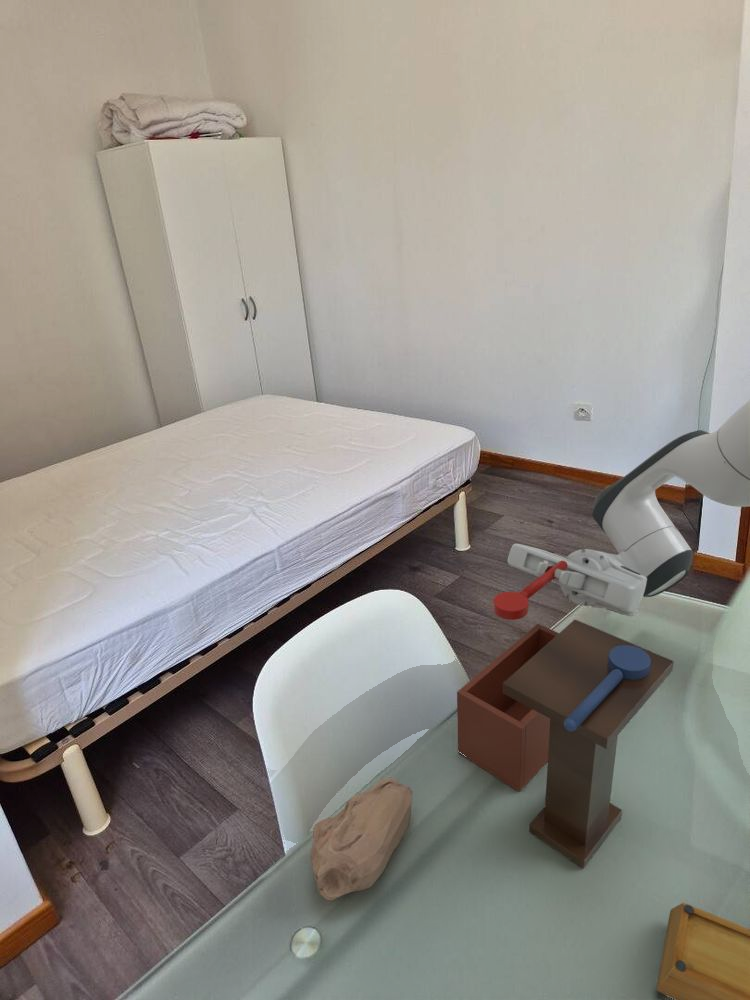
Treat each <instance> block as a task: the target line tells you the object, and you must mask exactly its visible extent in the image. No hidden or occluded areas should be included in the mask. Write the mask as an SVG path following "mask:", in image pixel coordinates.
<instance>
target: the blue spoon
mask: <svg viewBox="0 0 750 1000" xmlns="http://www.w3.org/2000/svg"><path fill="white" fill-rule="evenodd" d="M650 664H651V659H650V657H649V655H648V654H647V653H646V652H645V651H643V650H642V649H640V648H638V647H634V646H630V645H621V646H616V647H614V648H613V649H611V651H610V652H609V658H608V667H609V669H610V670H611V672H610V673H609V674H608V675H607V676H606V678H605V679H604V680H603V681H602V682H601V683H600V684H599V685H598V686H597V687H596V688H595V689H594V690H593V691H592V692H591V693H590V694H589V695H588V696H587V697H586V698H585V700H584V701H583V702H582V703H581V704H580V705H579V706H578V707H577V708H576V709H575V710H574V711H573V712H572V713H571V714H570V715H569V716H568V717H567V718H566V719H565V721H564V727H565V729H566V730H568V731H575V730H576V729H577V728H578V727H579V726H580V725H581V723H582V722H583V721H584V720H585V719H586V718H587V717H588V716H589V715H590V714H591V713H592V712H593V710H594V709H595V708H596V707H597V706H598V705H599V704H600V703H601V702H602V701H603V700H604V699H605V697H606V696H607V695H608V694H609V693H610V692H611V691H612V690H613V689H614V688H615V687H616V686H617V684H618V683H619V682H620V681H621V680H622V679H623V678H624V679H628V680H638V679H642V678H644V677H646V676H647V675H648V674H649V671H650Z"/></svg>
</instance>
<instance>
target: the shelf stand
mask: <svg viewBox="0 0 750 1000" xmlns="http://www.w3.org/2000/svg"><path fill="white" fill-rule="evenodd" d="M558 633H559V634H558V635H557V636H556V637H554V638H553V639H552V640H551V641H550V642H549V643H548V644H547V645H546V646H544V647H543V648H542V649H541V650H540V651H539V652H538V653H537V654H535V655H534V656H533V657H532V658H531V659H530V660H529V661H528V662H526V663H525V664H524V665H523V666H522V667H521V668H520V669H519V670H517V671H516V672H515V673H514V674H513V675H512V676H511V677H510V678H508V679H507V680H506V681H505V682H504V683H503V693H504V694H505V695H507V696H509V697H511V698H513V699H515V700H516V701H518V702H520V703H522V704H524V705H526V706H528V707H529V708H531V709H533V710H535V711H537V712H539V713H540V714H542V715H544V716H546V717H548V718H550V732H549V748H548V762H547V764H546V765H547V766H546V767H547V768H546V784H545V800H544V801H545V802H544V807H543V808H542V809H541V810H540V811H539V813H538V814H537V815H536V816H535V817H534V818H533V820H532V821H531V822H530V823H529V827H528V832H529V834H531V835H533V836H534V837H536V838H538V839H539V840H540V841H542V842H543V843H544V844H546V845H548V846H549V847H551V848H552V849H554V850H555V851H556V852H558V853H559V854H560V855H562V856H563V857H565V858H566V859H568V860H570V861H571V862H572V863H573V864H575V865H577V866H578V867H579V868H581V869H582V870H583V869H585V868H586V867H587V865H588V864H589V862H590V861H591V859H593V857H594V856H595V854H596V853H597V852H598V850H599V849H600V848H601V846H602V845H603V843H605V841H606V840H607V838H608V837H609V835H610V834H612V831H613V830H614V829H615V828H616V826H617V825H618V823H619V822H620V821H621V820H622V818H623V809H621V808H620V807H618V806H616V805H614V804H613V803H611V798H612V797H611V795H612V789H613V778H614V770H615V764H616V763H615V762H616V754H617V745H618V737H619V735H620V733H621V732H622V731H623V730H624V729H625V728H626V727H627V725H628V724H629V723H630V722H631V721H632V720H633V718H634V717H635V716H636V715H637V714H638V713H639V711H640V710H641V708H643V707H644V706H645V704H646V703H647V702H648V700H650V698H651V697H652V696H653V695H654V693H655V692H656V691H657V690H658V689H659V687H660V686H661V685H662V684H663V683H664V682H665V681H666V679H667V678H668V677H669V676H670V674H671V673H673V670H674V663H675V661H674V660H673V659H670V658H667V657H666V656H662V655H661V654H658V653H656V652H653V651H651V650H649V649H646V648H644V647H641V646H639V645H637V644H634V643H633V642H630V641H627V640H626V639H625V640H624V639H622V638H620V637H618V636H615V635H613V634H611V633H608V632H606V631H603V630H601V629H599V628H596V627H594V626H592V625H589V624H587V623H584V622H582V621H580V620H577V619H573V620H572V621H571V622H570V623H569V624H568V625H566V626H565V628H563V629H562V630H561V631H560V632H558ZM621 645H630V646H634V647H638V648H640V649H642V650H643V651H645V652H646V653H647V654H648V655H649V657H650V659H651V664H650V671H649V674H648V675H647V676H646V677H644V678H642V679H638V680H628V679H624V678H623V679H622V680H621V681H620V682H619V683H618V684H617V686H616V687H615V688H614V689H613V690H612V691H611V692H610V693H609V694H608V695H607V696H606V697H605V699H604V700H603V701H602V702H601V703H600V704H599V705H598V706H597V707H596V708H595V709H594V710H593V712H592V713H591V714H590V715H589V716H588V717H587V718H586V719H585V720H584V721H583V722H582V723H581V725H580V726H579V727H578V728H577V729H576V730H575V731H568V730H566V729H565V727H564V721H565V719H566V718H567V717H568V716H569V715H570V714H571V713H572V712H573V711H574V710H575V709H576V708H577V707H578V706H579V705H580V704H581V703H582V702H583V701H584V700H585V698H586V697H587V696H588V695H589V694H590V693H591V692H592V691H593V690H594V689H595V688H596V687H597V686H598V685H599V684H600V683H601V682H602V681H603V680H604V679H605V678H606V676H607V675H608V674H609V673H610V672H611V670H610V669H609V667H608V658H609V652H610V651H611V649H613V648H614V647H616V646H621Z"/></svg>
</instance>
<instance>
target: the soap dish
mask: <svg viewBox="0 0 750 1000" xmlns="http://www.w3.org/2000/svg"><path fill="white" fill-rule="evenodd" d="M656 991H657V992H660V993H661V994H663V995H665V997H667V998H669V997H670V998H669V999H670V1000H673V999H675V1000H750V929H749V928H747V927H746V926H742V925H740V924H738V923H735V922H732V921H730V920H727V919H726V918H722V917H720V916H717V915H716V914H712V913H711V912H708V911H705V910H703V909H700V908H698V907H695V906H693V905H691V904H688V903H686V902H682V903H680V904H678V905H676V906H674V907H673V908H671V909H670V911H669V916H668V922H667V928H666V933H665V939H664V943H663V949H662V954H661V960H660V966H659V972H658V978H657V984H656ZM671 998H673V999H671Z"/></svg>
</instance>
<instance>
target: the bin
mask: <svg viewBox="0 0 750 1000" xmlns="http://www.w3.org/2000/svg"><path fill="white" fill-rule="evenodd" d="M559 633H560V632H557V631H555V630H553V629H551V628H549V627H546V626H544V625H541V624H540V623H536V624H535V625H534V626H533V627H532V628H531V629H529V630H528V631H527V632H525V634H523V635H522V636H521V637H520V638H519V639H518V640H516V641H515V642H514V643H513V644H512V645H510V646H509V647H508V648H507V649H506V650H505V651H503V652H502V653H501V654H500V655H499V656H498V657H496V658H495V659H494V660H493V661H492V662H490V663H489V664H488V665H486V667H484V668H483V669H482V670H481V671H480V672H478V673H477V674H475V676H474V677H473V678H471V679H470V680H469V681H468V682H467V683H465V684H464V685H463V686H462V687H461V688H459V690H457V692H456V705H457V706H456V710H457V711H456V713H457V716H456V717H457V754H459V755H461V757H464V758H465V759H467V760H469V761H470V762H472V763H473V764H474V765H476V766H477V767H478V768H481V769H482V770H484V771H485V772H487V773H488V774H490V775H491V776H493V777H495V778H496V779H498V780H499V781H501V782H502V783H504V784H506V785H507V786H509V787H510V788H512V789H513V790H515V791H516V792H518V793H521V791H522V790H523V789H524V788H525V787H526V786H527V785H528V784H529V783H530V782H531V780H533V778H534V777H535V776H536V775H537V774H538V773H539V772H540V770H542V768H543V767H544V766H545V765H547V764H548V748H549V732H550V718H548V717H546V716H544V715H542V714H540V713H539V712H537V711H535V710H533V709H531V708H529V707H528V706H526V705H524V704H522V703H520V702H518V701H516V700H515V699H513V698H511V697H509V696H507V695H505V694H504V693H503V683H504V682H505V681H506V680H507V679H508V678H510V677H511V676H512V675H513V674H514V673H515V672H516V671H517V670H519V669H520V668H521V667H522V666H523V665H524V664H525V663H526V662H528V661H529V660H530V659H531V658H532V657H533V656H534V655H535V654H537V653H538V652H539V651H540V650H541V649H542V648H543V647H544V646H546V645H547V644H548V643H549V642H550V641H551V640H552V639H553V638H554V637H556V636H557V635H558V634H559ZM458 751H459V752H461V753H462V754H464V755H465V756H466V757H465V756H464V755H462V754H461V753H459V752H458Z"/></svg>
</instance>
